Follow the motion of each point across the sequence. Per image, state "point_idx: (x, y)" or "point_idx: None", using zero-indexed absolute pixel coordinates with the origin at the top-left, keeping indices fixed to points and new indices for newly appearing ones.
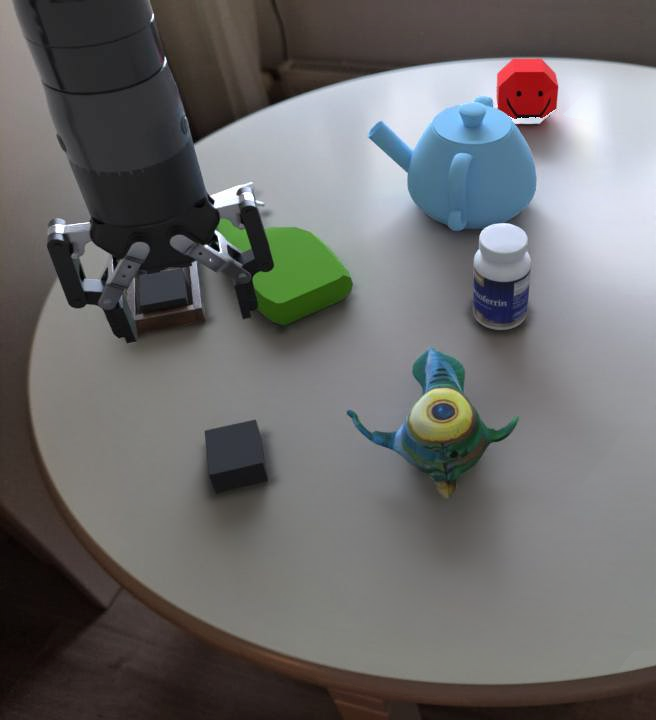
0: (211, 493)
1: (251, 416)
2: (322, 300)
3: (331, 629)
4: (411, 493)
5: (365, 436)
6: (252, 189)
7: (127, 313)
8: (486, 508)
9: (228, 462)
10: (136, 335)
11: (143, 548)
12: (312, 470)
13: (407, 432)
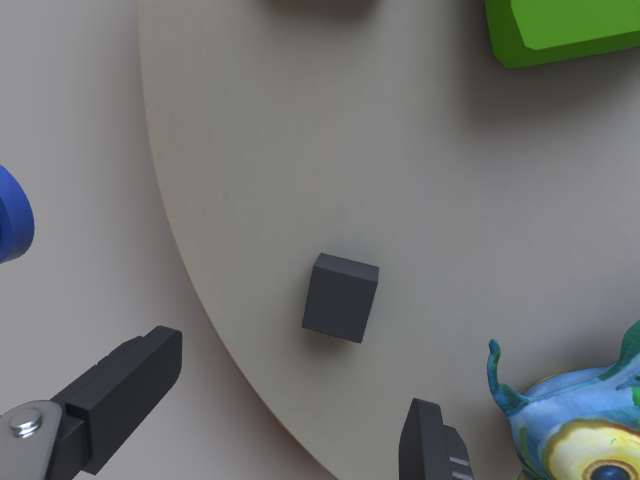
0: None
1: (380, 229)
2: (614, 49)
3: (356, 467)
4: (492, 413)
5: (489, 385)
6: None
7: (130, 411)
8: None
9: (326, 323)
10: (178, 361)
11: (236, 327)
12: (412, 336)
13: (540, 444)
